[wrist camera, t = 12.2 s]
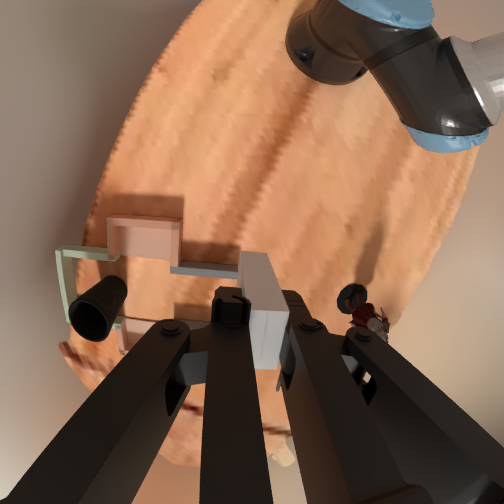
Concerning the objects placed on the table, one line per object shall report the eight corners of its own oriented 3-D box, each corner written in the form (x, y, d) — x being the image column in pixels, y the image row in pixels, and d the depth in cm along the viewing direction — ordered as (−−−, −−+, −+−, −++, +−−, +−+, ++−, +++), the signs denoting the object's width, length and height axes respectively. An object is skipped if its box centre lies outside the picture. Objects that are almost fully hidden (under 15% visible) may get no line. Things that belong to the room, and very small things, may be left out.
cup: (93, 295, 47) (65, 327, 35) (102, 263, 45) (71, 290, 34) (126, 313, 48) (104, 349, 37) (137, 281, 47) (114, 314, 35)
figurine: (362, 277, 50) (402, 316, 35) (371, 305, 52) (407, 347, 38) (332, 294, 50) (364, 339, 36) (343, 321, 52) (373, 368, 38)
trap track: (242, 223, 45) (243, 229, 41) (228, 357, 53) (228, 370, 49) (64, 211, 41) (52, 215, 38) (80, 336, 49) (73, 346, 46)
